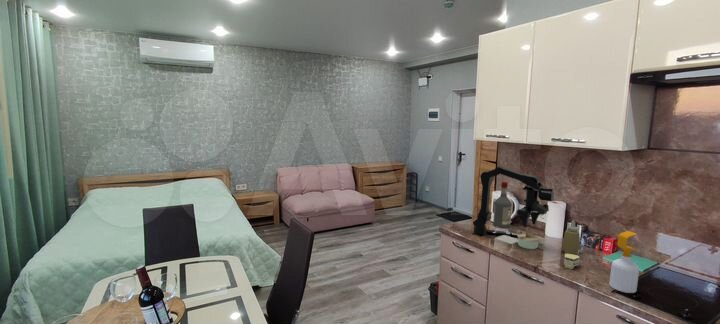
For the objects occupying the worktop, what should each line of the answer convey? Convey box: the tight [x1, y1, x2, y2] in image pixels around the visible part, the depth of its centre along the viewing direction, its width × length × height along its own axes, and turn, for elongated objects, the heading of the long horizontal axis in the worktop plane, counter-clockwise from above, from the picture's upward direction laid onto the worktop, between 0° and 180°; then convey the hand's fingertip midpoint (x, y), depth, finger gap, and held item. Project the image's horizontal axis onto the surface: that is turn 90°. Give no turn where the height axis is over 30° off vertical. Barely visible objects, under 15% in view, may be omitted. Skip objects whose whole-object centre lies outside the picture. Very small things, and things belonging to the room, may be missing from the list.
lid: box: [516, 226, 540, 242], centre depth 187 cm, size 11×11×6 cm
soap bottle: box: [609, 230, 640, 294], centre depth 140 cm, size 9×9×25 cm
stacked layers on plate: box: [563, 253, 580, 270], centre depth 162 cm, size 10×9×6 cm
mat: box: [493, 234, 518, 245], centre depth 198 cm, size 11×11×1 cm
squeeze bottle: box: [561, 219, 581, 255], centre depth 178 cm, size 8×8×18 cm
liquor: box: [492, 181, 513, 229], centre depth 222 cm, size 9×9×30 cm
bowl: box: [517, 237, 539, 250], centre depth 188 cm, size 10×10×5 cm
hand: (529, 225), depth 186 cm, fingers open, 9 cm apart
